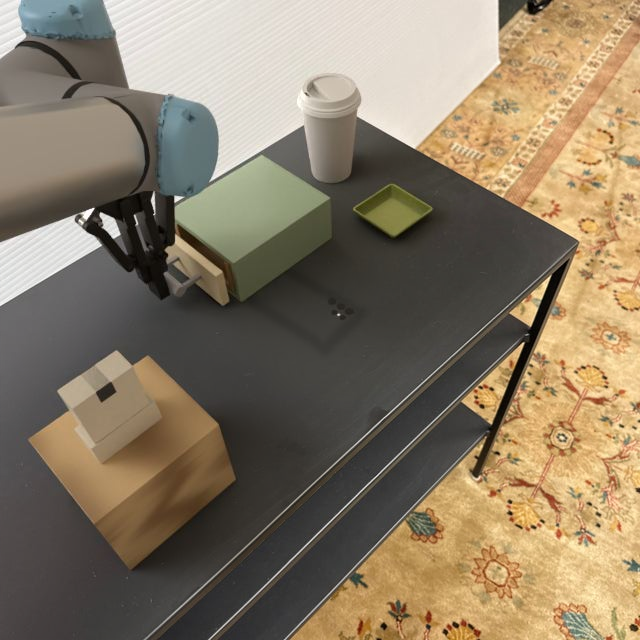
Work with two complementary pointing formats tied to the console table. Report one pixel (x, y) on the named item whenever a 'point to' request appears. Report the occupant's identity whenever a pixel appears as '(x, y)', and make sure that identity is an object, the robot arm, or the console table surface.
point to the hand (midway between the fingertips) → (160, 292)
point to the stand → (143, 469)
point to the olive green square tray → (392, 210)
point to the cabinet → (258, 222)
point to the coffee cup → (330, 124)
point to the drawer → (198, 267)
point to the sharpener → (109, 406)
